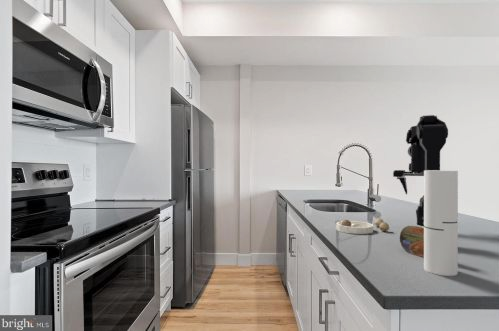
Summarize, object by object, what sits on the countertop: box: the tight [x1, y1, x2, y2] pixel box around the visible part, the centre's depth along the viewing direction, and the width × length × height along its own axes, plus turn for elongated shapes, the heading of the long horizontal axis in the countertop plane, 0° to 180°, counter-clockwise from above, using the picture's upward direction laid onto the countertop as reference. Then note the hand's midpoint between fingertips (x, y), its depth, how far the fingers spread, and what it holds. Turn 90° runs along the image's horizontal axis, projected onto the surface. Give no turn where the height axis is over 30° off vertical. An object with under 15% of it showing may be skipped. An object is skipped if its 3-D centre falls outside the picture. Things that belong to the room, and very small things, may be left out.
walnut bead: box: [342, 219, 351, 227], centre depth 122 cm, size 4×4×4 cm
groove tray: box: [335, 220, 374, 235], centre depth 123 cm, size 14×14×2 cm
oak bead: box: [379, 221, 390, 233], centre depth 121 cm, size 4×4×4 cm
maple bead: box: [374, 217, 384, 227], centre depth 130 cm, size 4×4×4 cm
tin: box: [399, 225, 424, 259], centre depth 88 cm, size 15×3×8 cm, turn 25°
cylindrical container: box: [423, 169, 459, 277], centre depth 76 cm, size 7×7×25 cm
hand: (419, 194), depth 126 cm, fingers open, 9 cm apart
